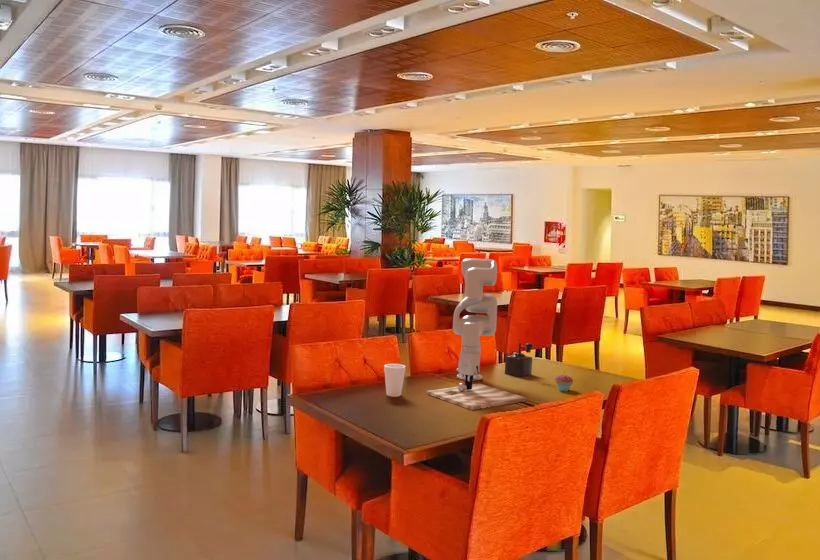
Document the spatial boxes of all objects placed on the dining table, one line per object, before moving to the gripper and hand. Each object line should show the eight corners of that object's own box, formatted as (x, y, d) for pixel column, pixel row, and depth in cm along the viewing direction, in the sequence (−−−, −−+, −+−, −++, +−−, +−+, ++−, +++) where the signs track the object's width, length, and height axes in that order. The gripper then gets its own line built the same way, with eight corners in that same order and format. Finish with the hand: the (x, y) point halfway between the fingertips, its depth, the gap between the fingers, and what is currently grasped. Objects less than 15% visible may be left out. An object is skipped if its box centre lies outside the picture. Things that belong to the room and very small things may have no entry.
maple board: (426, 394, 316) (427, 390, 316) (479, 386, 335) (479, 383, 335) (471, 410, 292) (472, 406, 292) (525, 400, 312) (526, 397, 312)
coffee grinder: (503, 373, 367) (505, 339, 365) (515, 371, 375) (517, 337, 373) (528, 379, 356) (530, 344, 355) (540, 376, 364) (542, 341, 363)
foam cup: (393, 398, 306) (395, 369, 305) (378, 394, 312) (379, 365, 311) (408, 395, 313) (409, 366, 312) (393, 391, 319) (394, 362, 318)
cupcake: (572, 392, 331) (574, 367, 330) (554, 391, 332) (555, 366, 331) (572, 388, 339) (573, 364, 338) (554, 387, 341) (555, 362, 340)
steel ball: (459, 380, 319) (463, 386, 320) (454, 386, 317) (458, 392, 318) (466, 381, 316) (469, 388, 318) (461, 388, 314) (464, 394, 316)
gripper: (453, 347, 322) (451, 386, 324) (475, 352, 310) (473, 393, 312) (465, 346, 327) (463, 385, 328) (487, 351, 315) (485, 391, 316)
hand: (468, 389), depth 320 cm, fingers closed
